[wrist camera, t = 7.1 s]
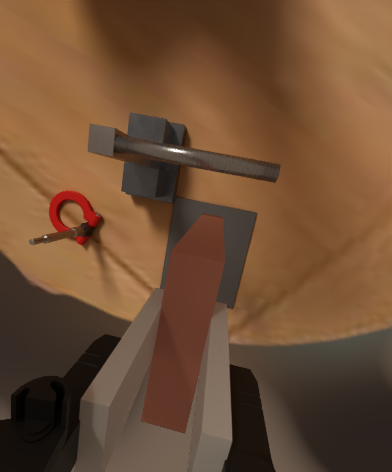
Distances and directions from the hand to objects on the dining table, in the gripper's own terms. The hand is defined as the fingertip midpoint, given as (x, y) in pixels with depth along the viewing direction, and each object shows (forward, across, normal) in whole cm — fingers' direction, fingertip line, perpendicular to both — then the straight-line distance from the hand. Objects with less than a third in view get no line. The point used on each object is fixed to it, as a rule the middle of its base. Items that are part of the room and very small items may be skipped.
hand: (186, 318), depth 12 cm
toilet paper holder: (+27, -5, +9) cm, 29 cm away
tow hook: (+28, -25, -3) cm, 38 cm away
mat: (+27, 0, -5) cm, 28 cm away
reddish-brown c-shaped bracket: (+15, 0, -1) cm, 16 cm away
